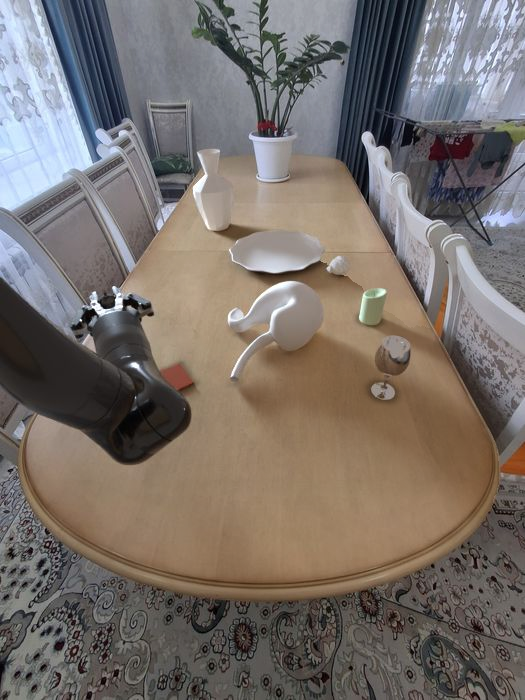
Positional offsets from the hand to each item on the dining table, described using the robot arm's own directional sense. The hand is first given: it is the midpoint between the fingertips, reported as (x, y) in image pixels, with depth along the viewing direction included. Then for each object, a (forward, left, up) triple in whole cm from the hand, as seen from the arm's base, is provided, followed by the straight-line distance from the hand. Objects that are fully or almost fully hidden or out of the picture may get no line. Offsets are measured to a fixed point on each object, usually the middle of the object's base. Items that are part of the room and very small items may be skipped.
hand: (105, 293), depth 65 cm
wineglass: (0, -53, -18) cm, 56 cm away
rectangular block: (-8, -7, -18) cm, 20 cm away
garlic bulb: (+43, -42, -18) cm, 63 cm away
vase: (+74, +3, -18) cm, 76 cm away
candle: (+23, -51, -18) cm, 59 cm away
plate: (+53, -23, -18) cm, 61 cm away
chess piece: (-2, -2, -10) cm, 11 cm away
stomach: (+11, -30, -18) cm, 36 cm away
